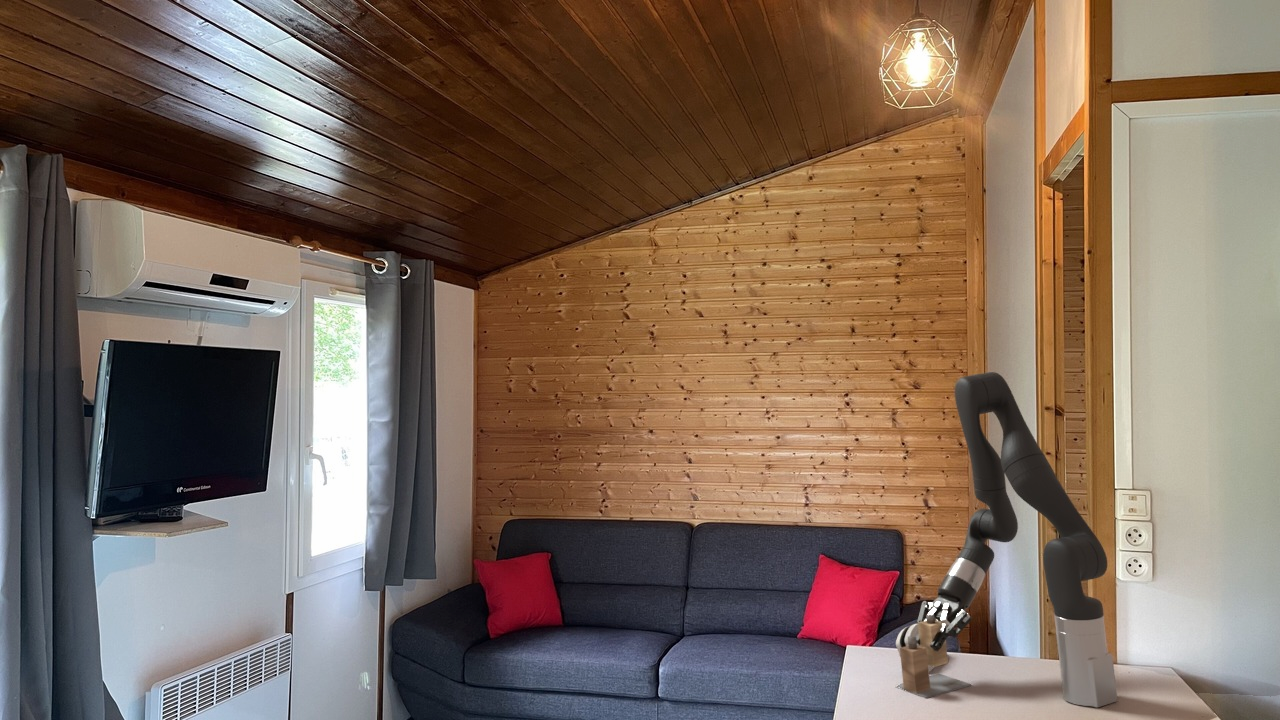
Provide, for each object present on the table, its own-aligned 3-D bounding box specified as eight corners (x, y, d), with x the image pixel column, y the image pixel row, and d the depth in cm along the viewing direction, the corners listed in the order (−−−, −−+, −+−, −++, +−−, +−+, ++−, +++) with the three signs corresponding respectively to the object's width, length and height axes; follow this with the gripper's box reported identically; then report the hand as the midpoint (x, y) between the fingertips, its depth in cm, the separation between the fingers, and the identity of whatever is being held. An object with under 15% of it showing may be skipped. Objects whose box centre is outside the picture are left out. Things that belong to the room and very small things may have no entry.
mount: (971, 685, 201) (965, 632, 201) (926, 698, 195) (920, 643, 196) (938, 674, 210) (933, 623, 210) (894, 686, 204) (889, 634, 205)
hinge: (927, 674, 211) (908, 632, 213) (908, 679, 213) (890, 637, 216) (946, 653, 225) (929, 614, 227) (929, 658, 227) (912, 620, 229)
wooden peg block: (948, 663, 203) (943, 615, 203) (934, 666, 201) (929, 618, 201) (935, 658, 206) (930, 612, 207) (921, 662, 204) (917, 615, 205)
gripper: (929, 568, 214) (894, 630, 208) (975, 578, 201) (939, 644, 195) (948, 587, 216) (914, 649, 210) (995, 598, 203) (959, 663, 197)
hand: (926, 646), depth 203 cm, fingers closed on wooden peg block, 4 cm apart
